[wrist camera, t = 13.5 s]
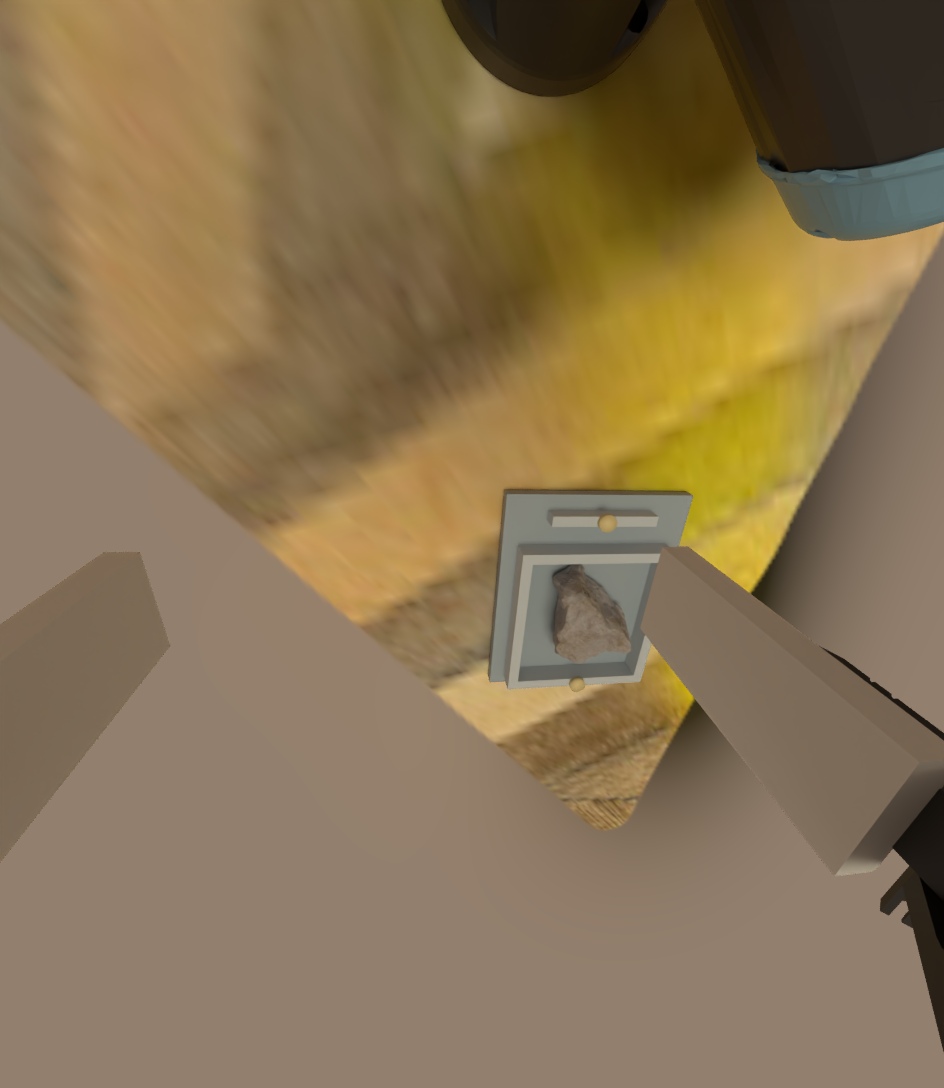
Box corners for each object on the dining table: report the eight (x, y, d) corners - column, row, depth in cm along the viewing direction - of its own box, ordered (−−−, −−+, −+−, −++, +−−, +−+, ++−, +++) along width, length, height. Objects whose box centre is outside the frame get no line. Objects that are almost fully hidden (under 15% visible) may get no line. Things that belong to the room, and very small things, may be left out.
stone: (557, 653, 46) (574, 692, 41) (517, 588, 42) (531, 622, 37) (624, 618, 45) (651, 654, 40) (590, 548, 41) (615, 578, 36)
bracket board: (504, 489, 39) (513, 505, 35) (686, 491, 41) (712, 506, 38) (487, 674, 48) (494, 701, 45) (636, 666, 51) (653, 691, 47)
